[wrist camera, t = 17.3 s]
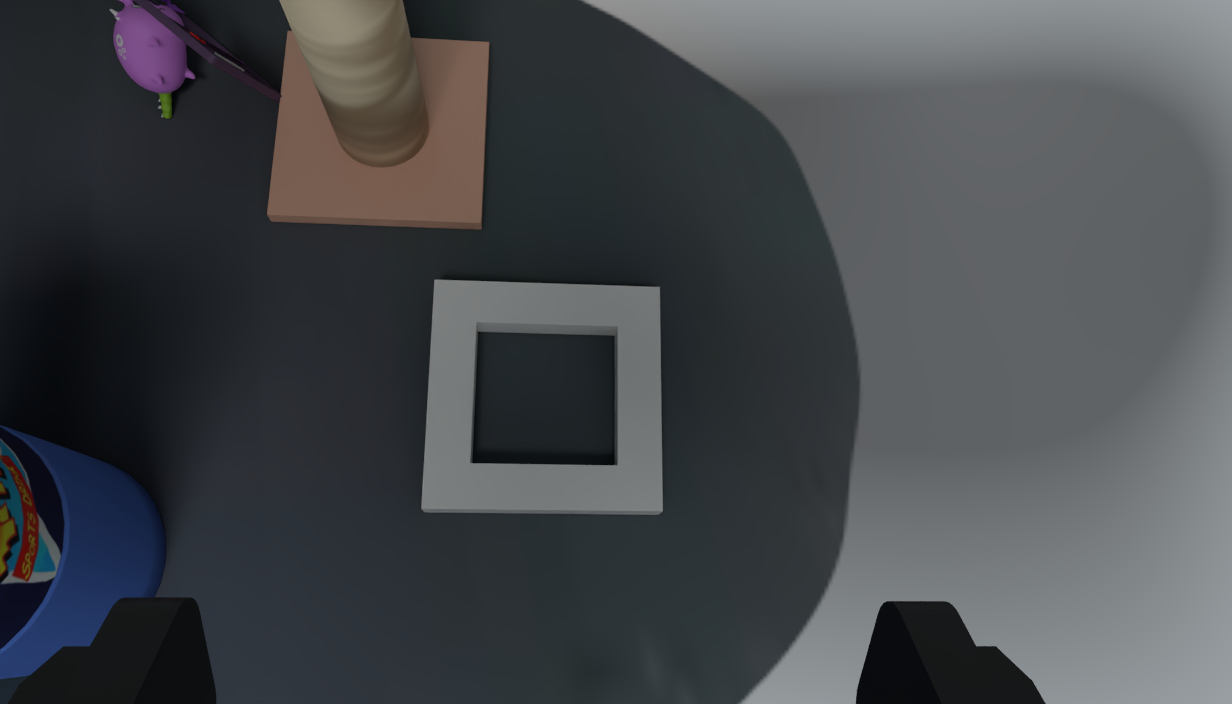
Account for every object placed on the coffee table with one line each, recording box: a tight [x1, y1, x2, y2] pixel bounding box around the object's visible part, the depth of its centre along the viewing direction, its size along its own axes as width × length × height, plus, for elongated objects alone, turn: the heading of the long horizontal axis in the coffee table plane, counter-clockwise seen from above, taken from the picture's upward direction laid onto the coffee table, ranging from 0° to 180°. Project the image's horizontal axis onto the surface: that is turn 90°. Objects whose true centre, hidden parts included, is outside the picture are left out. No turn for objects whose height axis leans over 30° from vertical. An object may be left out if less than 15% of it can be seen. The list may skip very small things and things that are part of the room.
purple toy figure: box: [110, 0, 282, 119], centre depth 43 cm, size 7×5×9 cm
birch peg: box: [279, 0, 429, 168], centre depth 40 cm, size 4×4×11 cm
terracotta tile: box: [267, 31, 490, 230], centre depth 46 cm, size 10×10×1 cm
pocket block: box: [421, 280, 663, 515], centre depth 42 cm, size 10×10×2 cm
